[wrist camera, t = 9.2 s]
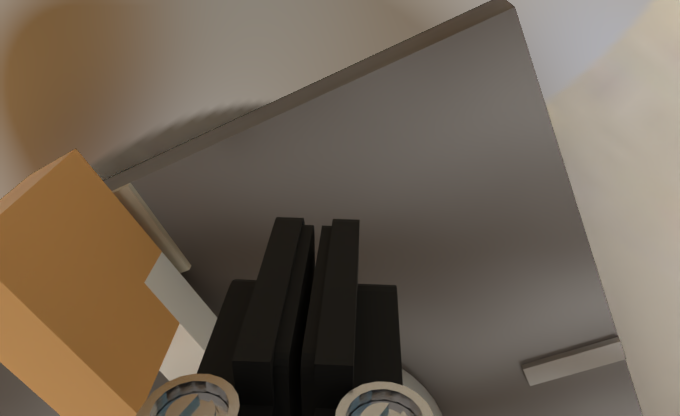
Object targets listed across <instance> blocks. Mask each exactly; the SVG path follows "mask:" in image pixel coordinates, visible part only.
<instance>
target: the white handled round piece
mask: <svg viewBox="0 0 680 416" xmlns="http://www.w3.org/2000/svg"><path fill="white" fill-rule="evenodd" d="M216 320H217V317H216V316H215V314H214V313H213V312H212V311H211V310H210V308H209V307H208V306H207V305H206V304H205V303H204V301H203V300H202V299H201V298H200V297H199V295H198V294H197V293H196V292H195V291H194V289H193V288H192V287H191V286H190V285H189V283H188V282H187V281H186V280H185V279H184V277H183V276H182V275H181V274H180V273H179V271H178V270H177V269H176V268H175V267H174V265H173V264H172V263H171V262H170V261H169V259H168V258H167V257H166V256H165V255H164V253H163V252H162V251H161V250H160V249H159V247H158V246H157V245H156V244H155V243H154V241H153V240H152V239H151V238H150V237H149V235H148V234H147V233H146V232H145V231H144V230H143V228H142V227H141V226H140V225H139V224H138V222H137V221H136V220H135V219H134V218H133V216H132V215H131V214H130V213H129V212H128V210H127V209H126V208H125V207H124V206H123V204H122V203H121V202H120V201H119V200H118V198H117V197H116V196H115V195H114V194H113V192H112V191H111V190H110V189H109V188H108V186H107V185H106V184H105V183H104V182H103V180H102V179H101V178H100V177H99V176H98V174H97V173H96V172H95V171H94V170H93V168H92V167H91V166H90V165H89V164H88V162H87V161H86V160H85V159H84V158H83V157H82V155H81V154H80V153H79V152H78V151H77V149H74V150H72V151H70V152H69V153H67V154H65V155H63V156H62V157H60V158H58V159H56V160H55V161H53V162H51V163H49V164H48V165H46V166H44V167H43V168H41V169H39V170H37V171H36V172H34V173H33V174H30V175H29V176H28V177H27V178H25V179H24V180H23V181H22V182H21V183H19V184H18V185H17V186H16V187H15V188H13V189H12V190H11V191H10V192H9V193H7V194H6V195H5V196H4V197H3V198H2V199H0V362H1V363H2V364H3V365H4V366H5V367H6V368H7V369H9V370H10V371H11V372H12V373H13V374H14V375H15V376H16V377H18V378H19V379H20V380H21V381H22V382H23V383H24V384H25V385H27V386H28V387H29V388H30V389H31V390H32V391H33V392H34V393H36V394H37V395H38V396H39V397H40V398H41V399H42V400H43V401H45V402H46V403H47V404H48V405H49V406H50V407H51V408H53V409H54V410H55V411H56V412H57V413H58V414H59V415H60V416H136V414H137V413H138V411H139V410H140V408H141V407H142V405H143V404H144V402H145V401H146V399H147V397H148V395H149V392H150V390H151V388H152V386H153V383H154V381H155V379H156V376H157V374H158V372H159V371H160V372H161V373H162V374H163V375H164V376H165V377H166V378H167V379H168V380H169V381H171V380H173V379H176V378H178V377H180V376H185V375H190V374H197V371H198V368H199V366H200V363H201V360H202V358H203V355H204V352H205V350H206V347H207V344H208V342H209V339H210V336H211V334H212V331H213V328H214V326H215V323H216ZM402 379H403V386H406V387H408V388H409V389H411V390H413V391H414V392H416V393H418V394H419V395H420V396H421V397H422V398H423V399H424V400H425V401H426V402H427V403H428V405H429V407H430V409H431V411H432V413H433V415H434V416H442V413H441V411H440V409H439V407H438V405H437V404H436V402H435V400H434V399H433V397H432V396H431V395H430V394H429V392H428V391H427V390H426V388H425V387H424V386H422V385H421V384H420V383H419V382H418V381H417V380H416V379H415V378H414V377H413V376H412V375H410V374H409V373H407V372H406V371H405V370H403V369H402Z"/></svg>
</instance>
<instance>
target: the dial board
mask: <svg viewBox="0 0 680 416" xmlns="http://www.w3.org/2000/svg"><path fill="white" fill-rule="evenodd" d="M103 182H104V183H105V184H106V185H107V186H108V188H109V189H110V190H111V191H112V192H113V194H114V195H115V196H116V197H117V198H118V200H119V201H120V202H121V203H122V204H123V206H124V207H125V208H126V209H127V210H128V212H129V213H130V214H131V215H132V216H133V218H134V219H135V220H136V221H137V222H138V224H139V225H140V226H141V227H142V228H143V230H144V231H145V232H146V233H147V234H148V235H149V237H150V238H151V239H152V240H153V241H154V243H155V244H156V245H157V246H158V247H159V249H160V250H161V251H162V252H163V253H164V255H165V256H166V257H167V258H168V259H169V261H170V262H171V263H172V264H173V265H174V267H175V268H176V269H177V270H178V271H179V273H180V274H181V275H182V276H183V277H184V279H185V280H186V281H187V282H188V283H189V285H190V286H191V287H192V288H193V289H194V291H195V292H196V293H197V294H198V295H199V297H200V298H201V299H202V300H203V301H204V303H205V304H206V305H207V306H208V307H209V308H210V310H211V311H212V312H213V313H214V314H215V316H216V317H217V318H218V315H219V312H220V310H221V307H222V304H223V302H224V299H225V296H226V294H227V291H228V288H229V286H230V284H231V282H232V281H233V280H234V279H242V280H257V277H258V274H259V270H260V267H261V264H262V261H263V257H264V254H265V251H266V248H267V244H268V241H269V238H270V235H271V232H272V228H273V225H274V222H275V219H276V217H295V218H304V222H305V225H314V231H315V266H316V260H317V253H318V247H319V241H320V235H321V228H322V225H323V226H332V221H333V219H358V220H360V230H359V268H358V284H379V285H396V286H397V296H398V313H399V329H400V346H401V362H402V369H403V370H405V371H406V372H407V373H409V374H410V375H412V376H413V377H414V378H415V379H416V380H417V381H418V382H419V383H420V384H421V385H422V386H424V387H425V388H426V390H427V391H428V392H429V394H430V395H431V396H432V397H433V399H434V400H435V402H436V404H437V405H438V407H439V409H440V411H441V413H442V416H643V415H642V411H641V408H640V405H639V402H638V399H637V395H636V392H635V389H634V386H633V383H632V379H631V376H630V373H629V370H628V367H627V363H626V360H625V359H626V357H625V353H624V350H623V347H622V344H621V341H620V339H619V337H618V335H617V332H616V328H615V325H614V322H613V319H612V316H611V312H610V309H609V306H608V303H607V300H606V296H605V293H604V290H603V287H602V284H601V280H600V277H599V274H598V271H597V268H596V264H595V261H594V258H593V255H592V252H591V248H590V245H589V242H588V239H587V236H586V232H585V229H584V226H583V223H582V220H581V217H580V213H579V210H578V207H577V204H576V201H575V197H574V194H573V191H572V188H571V185H570V181H569V178H568V175H567V172H566V169H565V165H564V162H563V159H562V156H561V153H560V149H559V146H558V143H557V140H556V137H555V133H554V130H553V127H552V124H551V121H550V117H549V114H548V111H547V108H546V105H545V102H544V98H543V95H542V92H541V89H540V86H539V83H538V80H537V76H536V73H535V70H534V66H533V63H532V61H531V57H530V54H529V51H528V47H527V44H526V41H525V38H524V35H523V31H522V28H521V25H520V22H519V18H518V15H517V12H516V9H515V7H514V6H513V5H512V4H511V3H509V2H508V1H507V0H491V1H489V2H487V3H484V4H482V5H480V6H478V7H476V8H474V9H472V10H469V11H467V12H465V13H463V14H461V15H459V16H456V17H454V18H452V19H450V20H448V21H446V22H443V23H441V24H439V25H437V26H435V27H433V28H431V29H428V30H426V31H424V32H422V33H420V34H418V35H416V36H413V37H412V38H409V39H407V40H405V41H403V42H401V43H399V44H396V45H394V46H392V47H390V48H388V49H385V50H383V51H381V52H379V53H377V54H375V55H373V56H370V57H369V58H367V59H364V60H362V61H360V62H358V63H355V64H353V65H351V66H349V67H347V68H345V69H343V70H341V71H338V72H336V73H334V74H332V75H330V76H327V77H325V78H323V79H321V80H319V81H317V82H315V83H312V84H310V85H308V86H306V87H304V88H302V89H300V90H298V91H296V92H293V93H291V94H289V95H287V96H284V97H282V98H280V99H278V100H276V101H274V102H272V103H269V104H267V105H265V106H263V107H261V108H259V109H257V110H254V111H252V112H250V113H248V114H246V115H244V116H241V117H239V118H237V119H235V120H233V121H231V122H229V123H226V124H224V125H222V126H220V127H218V128H216V129H214V130H211V131H209V132H207V133H205V134H203V135H201V136H198V137H196V138H194V139H192V140H190V141H188V142H186V143H183V144H181V145H179V146H177V147H175V148H173V149H171V150H168V151H166V152H164V153H162V154H160V155H158V156H156V157H153V158H151V159H149V160H147V161H145V162H143V163H140V164H138V165H136V166H134V167H132V168H130V169H128V170H125V171H123V172H121V173H119V174H117V175H115V176H113V177H110V178H108V179H106V180H104V181H103ZM168 381H169V380H168V379H167V378H166V377H165V376H164V375H163V374H162V373H161V372H160V371H159V372H158V374H157V376H156V379H155V381H154V383H153V386H152V388H151V390H150V392H149V395H148V397H149V396H150V395H151V394H152V393H153V392H154V391H155V390H156V389H158V388H159V387H161V386H162V385H163V384H165V383H166V382H168ZM148 397H147V399H148ZM147 399H146V400H147ZM0 416H60V415H59V414H58V413H57V412H56V411H55V410H54V409H53V408H51V407H50V406H49V405H48V404H47V403H46V402H45V401H43V400H42V399H41V398H40V397H39V396H38V395H37V394H36V393H34V392H33V391H32V390H31V389H30V388H29V387H28V386H27V385H25V384H24V383H23V382H22V381H21V380H20V379H19V378H18V377H16V376H15V375H14V374H13V373H12V372H11V371H10V370H9V369H7V368H6V367H5V366H4V365H3V364H2V363H1V362H0Z"/></svg>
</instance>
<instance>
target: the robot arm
mask: <svg viewBox="0 0 680 416" xmlns="http://www.w3.org/2000/svg"><path fill="white" fill-rule="evenodd" d="M359 230H360V220H358V219H333V221H332V226H323V225H322V228H321V235H320V241H319V247H318V253H317V260H316V266H315V231H314V225H305V222H304V218H295V217H276V219H275V222H274V225H273V228H272V232H271V235H270V238H269V241H268V244H267V248H266V251H265V254H264V257H263V261H262V264H261V267H260V270H259V274H258V277H257V280H242V279H234V280H233V281H232V282H231V284H230V286H229V288H228V291H227V294H226V296H225V299H224V302H223V304H222V307H221V310H220V312H219V315H218V318H217V320H216V323H215V326H214V328H213V331H212V334H211V336H210V339H209V342H208V344H207V347H206V350H205V352H204V355H203V358H202V360H201V363H200V366H199V368H198V371H197V374H190V375H185V376H180V377H178V378H176V379H173V380H171V381H168V382H166V383H165V384H163V385H162V386H161V387H159V388H158V389H156V390H155V391H154V392H153V393H152V394H151V395H150V396H149V397H148V399H147V400H146V401H145V402H144V404H143V405H142V407H141V408H140V410H139V411H138V413H137V414H136V416H434V415H433V413H432V411H431V409H430V407H429V405H428V403H427V402H426V401H425V400H424V399H423V398H422V397H421V396H420V395H419V394H418V393H416V392H414V391H413V390H411V389H409V388H408V387H406V386H403V379H402V362H401V346H400V329H399V313H398V296H397V286H396V285H379V284H358V268H359Z"/></svg>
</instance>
